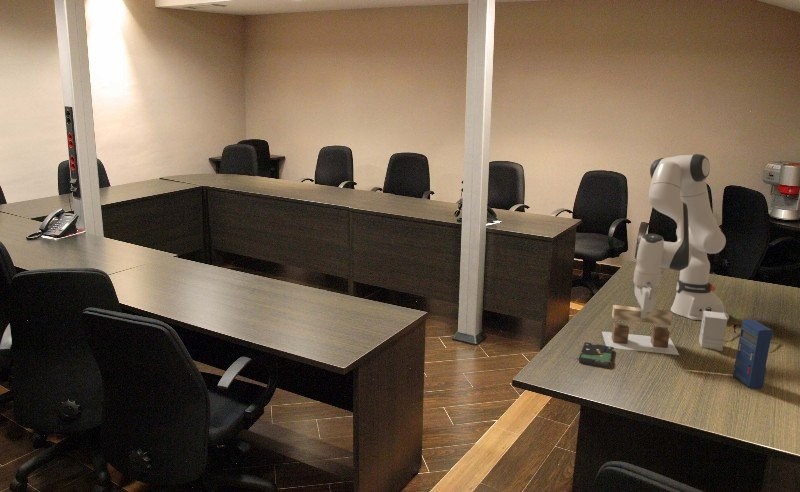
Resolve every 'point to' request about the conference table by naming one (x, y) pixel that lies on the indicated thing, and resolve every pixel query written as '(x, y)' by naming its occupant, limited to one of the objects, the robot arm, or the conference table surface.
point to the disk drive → (596, 355)
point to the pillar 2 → (660, 337)
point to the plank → (634, 315)
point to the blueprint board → (639, 344)
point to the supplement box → (713, 330)
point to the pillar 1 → (620, 333)
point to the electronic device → (752, 353)
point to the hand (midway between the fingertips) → (641, 315)
